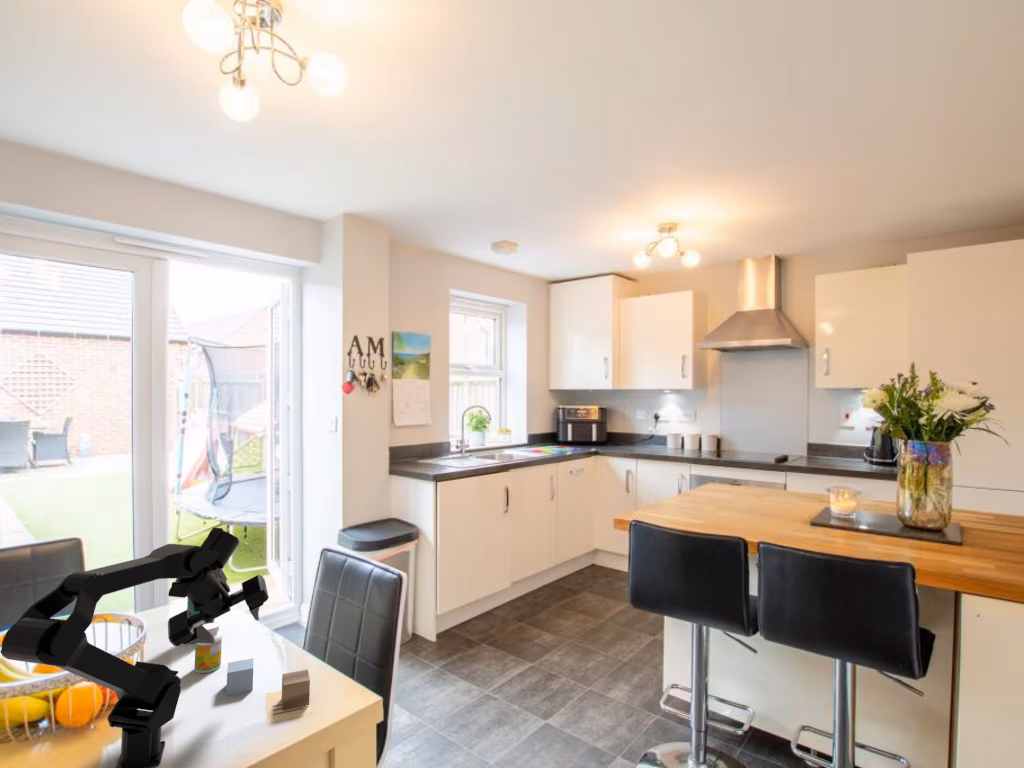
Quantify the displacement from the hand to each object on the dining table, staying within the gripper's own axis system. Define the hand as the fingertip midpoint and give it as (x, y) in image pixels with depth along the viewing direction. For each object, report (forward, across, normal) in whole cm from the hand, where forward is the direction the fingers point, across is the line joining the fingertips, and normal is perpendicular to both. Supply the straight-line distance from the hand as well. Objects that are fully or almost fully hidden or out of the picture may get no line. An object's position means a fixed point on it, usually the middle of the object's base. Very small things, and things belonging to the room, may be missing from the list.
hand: (236, 629), depth 116 cm
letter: (+8, -5, +17) cm, 19 cm away
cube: (+11, +4, +6) cm, 13 cm away
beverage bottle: (+23, +16, -22) cm, 35 cm away
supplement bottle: (+15, +12, -6) cm, 20 cm away
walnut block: (+9, -6, +17) cm, 20 cm away
